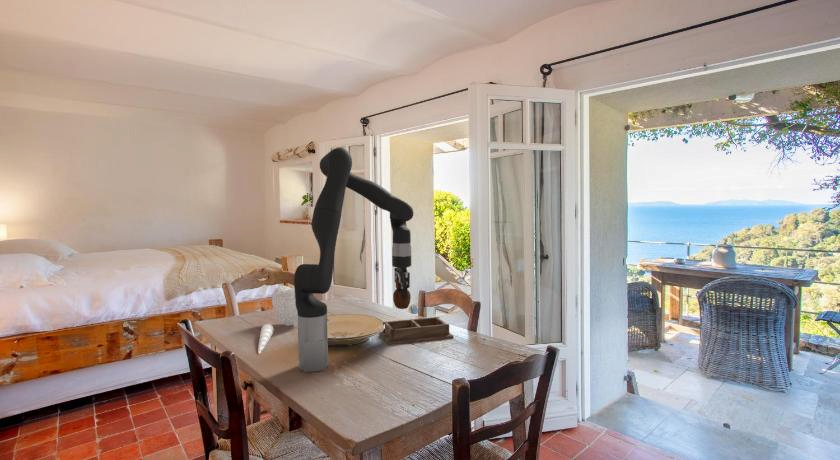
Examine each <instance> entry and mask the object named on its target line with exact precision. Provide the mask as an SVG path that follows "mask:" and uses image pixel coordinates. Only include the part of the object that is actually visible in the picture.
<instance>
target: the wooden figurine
mask: <svg viewBox="0 0 840 460" xmlns="http://www.w3.org/2000/svg"><path fill="white" fill-rule="evenodd" d="M405 285H406V283H405ZM395 288H396V289H395V290H394V292H393V294H392V295H393V296H392V300H393V303H394V307H395V308H397V309H399V310H404V309H408V308H409V306H410V303H411V297H412V296H411V292H410V290H408V289H407V298H404V299H403V298H402V294H401V289H402V288H401V284H400V283H399V277H398V278H397V282H396V283H395Z"/></svg>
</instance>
